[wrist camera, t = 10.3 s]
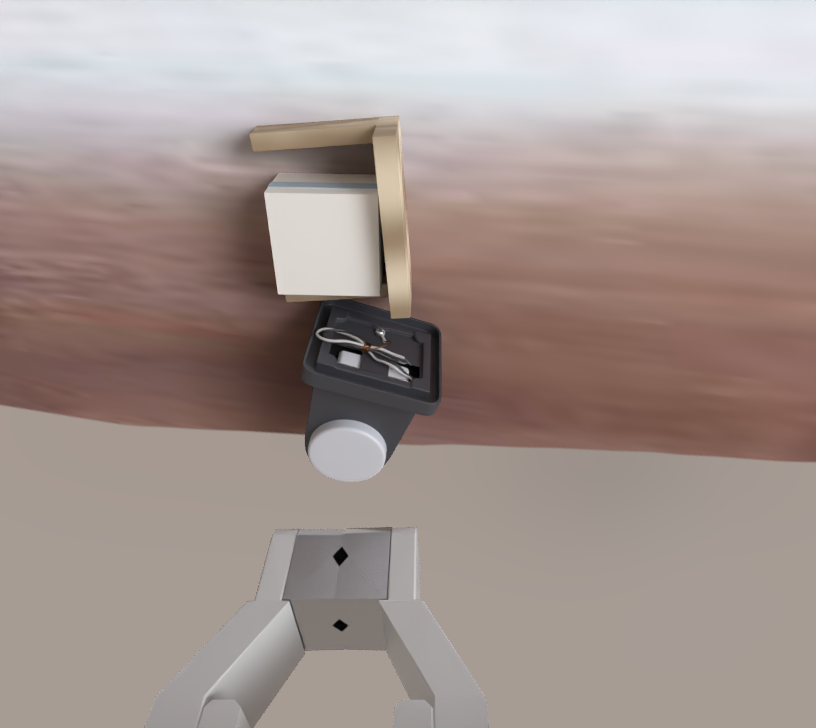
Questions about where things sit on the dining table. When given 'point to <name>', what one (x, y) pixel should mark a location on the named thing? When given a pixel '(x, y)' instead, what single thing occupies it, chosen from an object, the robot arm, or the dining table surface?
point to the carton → (326, 234)
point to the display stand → (388, 182)
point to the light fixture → (366, 385)
